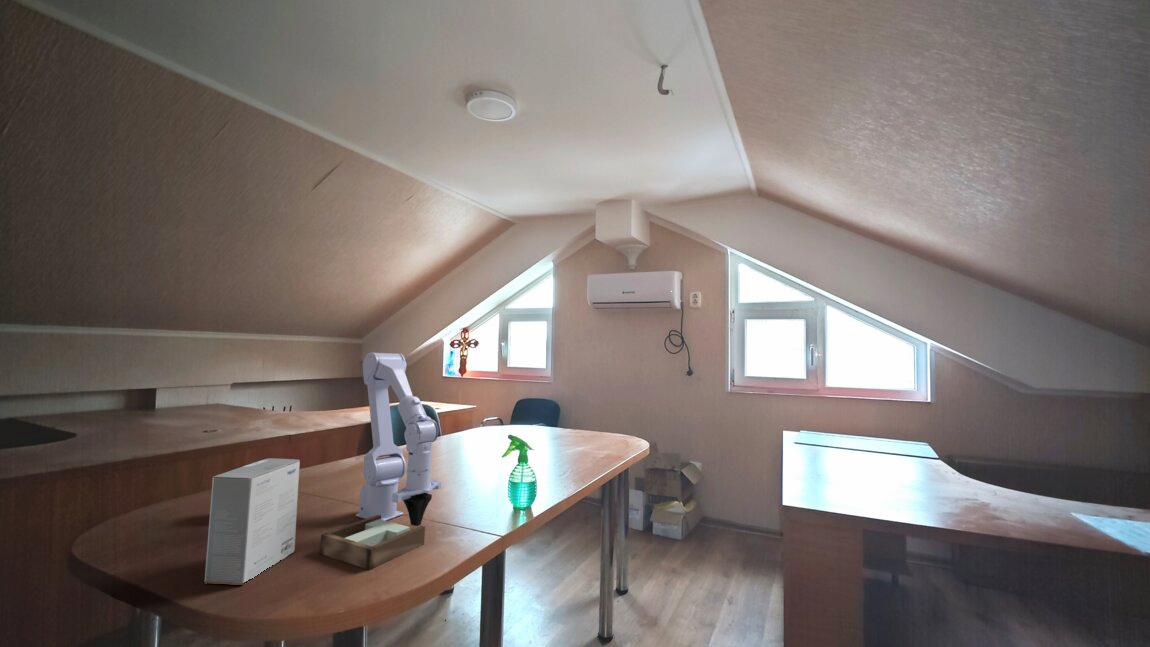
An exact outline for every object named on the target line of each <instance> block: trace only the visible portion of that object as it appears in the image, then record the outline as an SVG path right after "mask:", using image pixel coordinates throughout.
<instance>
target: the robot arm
mask: <svg viewBox="0 0 1150 647" xmlns="http://www.w3.org/2000/svg"><path fill="white" fill-rule="evenodd" d="M407 365H408V364H407V362H406V359H405V356H404V354H403V353H399V352H397V353H390V352H388V353H386V352H374V351H372V352H368V353H367V354H366V356H364V359H363V361H362V376H363V383H364V385H365V386H366V387H367V394H368V404H369V406H368V408H369V416H370V427H371V435H372V437H371V438H372V445H373V446H372V448H371V449H370V450H369V451H368V452H367V453H366V454H364V457H363V467H362V476H363V479H364V481H365V482H364V484H362V486H361V489H360V492H359V500H358V502H359V504H358V513H356V514H355V517H357V518H361V519H363V520H364V519H366V518H369V517H372V516H375V515H381V520H385V521H389V520H392V519H395V518H398V517H399V516H403V515H404V511H399V510H397V509H398V508H397V506H398V503H402V501H403V503H404V505H405V507H406V509H407V513H408V518H409V522H410V525H411V526H414V527H419V526H422V525H421V524H422V521H423V519H424V515H425V511H426V509H427V507H428V505H429V504H430V502H431V500H432V497H433V495H432V494H430V493H431V492H433V491H434V490H440V489H441V487H442V481H440V480H436V479H435V480H432V481H431V476H432V474H431V473H432V461H433V460H432V459H433V443H435V442H436V440H437V439H438V437H439V426H438V424H437V422H436V420H434V419H432V418H431V417H430V416H428V415H427V413H426V410H425V408H424V406H423V405H422V402H421V399H420V397H417V396H414V395H413V392H412V390H411V386H410V384H409V381H408V377H407V375H406V370H407ZM390 386H391V388H392V390H393V391H394V393H395V395H396V397H397V399H398V401H399V403H398V404H397V410H398V412H399V415H400V417H401V419H402V421H403V423H404V426H405V431H404V440H405V443H406V447H405V448H406V451H407V453H408V455H407V462H406V459H405V457H404V454H403V449H402V448H400V447H399V446H397V445H396V444H395V443H394V434H393V425H392V424H393V423H392V416H391V407H390V397H389V387H390ZM405 474H406V483H405V486H404V487H403V488H401V489H400V490H398V489H399V483H400V482H401V481H402V478H403V477H404V476H405Z"/></svg>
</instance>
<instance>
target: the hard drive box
mask: <svg viewBox="0 0 1150 647" xmlns="http://www.w3.org/2000/svg"><path fill="white" fill-rule="evenodd" d="M300 462H301V461H300V459H293V458H273V457H271V458H265V459H261V460H258V461H255V462H252V463H249V464H246V465H244V466H241V467H238V468H237V467H236V468H234V469H232V470H229V471H226V472H222V473H220V474H217V475H215V476H212V481H211V482H212V483H211V495H210V509H209V519H208V520H209V521H208V535H207V544H206V545H207V547H206V555H205V556H206V557H205V558H206V559H205V573H204V582H205V581H211V582H222V583H225V582H233V583H244V582H246V581H248V580H249V579H252V578H253V579H255V578H256V577H255V576H257V575H258V574H259V575H260V573H261V572H262V573H264V572H265V571H267V570H268V569H270V568H271V567H273V566H275V565H276V564H277V563H279V562H281V561H282V560H284V559H286V558H287V557H288V556H289V555H292V554H293V553H294V552H295V547H296V534H297V533H296V530H297V515H298V514H297V513H298V497H299V480H300V479H299V478H300V464H301V463H300ZM280 560H281V561H280ZM272 565H273V566H272ZM269 567H270V568H269ZM267 568H268V569H267ZM266 569H267V570H266ZM264 570H265V571H264ZM263 571H264V572H263ZM262 573H261V574H262ZM259 575H258V576H259ZM258 576H257V577H258ZM254 577H255V578H254ZM253 579H252V580H253ZM248 582H249V581H248Z"/></svg>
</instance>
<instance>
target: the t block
mask: <svg viewBox="0 0 1150 647" xmlns="http://www.w3.org/2000/svg"><path fill="white" fill-rule="evenodd" d="M409 530H411V526H407V525H403V524H400V523H396V522H391V521H389V520H386V521H385V520H381V519H378V520H376V521H373V522H370V523H367V524H365V530H364V531H362V532H359V533H356V534H354V535H351V536H349V537H346V538H345V539H349V540H352V541H355V542H359V543H362V544H365V545H369V546H374V545H376V544H379V543H381V542H383V541H386V540H388V539H390V538H393V537H395V536H398V535H400V534H402V533H405V532H407V531H409Z"/></svg>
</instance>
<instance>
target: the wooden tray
mask: <svg viewBox="0 0 1150 647" xmlns="http://www.w3.org/2000/svg"><path fill="white" fill-rule="evenodd" d="M378 519H381V515H375V516H372V517H369V518H366V519H364V518H363V519H362V520H358V521H356V522H353V523H350V524H348V525H344V526H342V527H338V528H336V529H335V528H334V529H333V530H331V531H327V532H324V533H322V534H320V541H319V554H320V555H324V556H325V557H329V558H332V559H336V560H338V561H340V562H341V561H342V562H345V563H348V564H350V565H353V566H357V567H359V568H362V569H365V570H369V571H371V570H373V569H375V568H377V567H379V566H382V565H383V564H385V563H388V562H390V561H392V560H394V559H396V558H398V557H400V556H402V555H404V554H407V553H408V552H411V551H413V550H415V549H417V548H419V547H422V546H423V545H425V534H426V526H425V525H419V526H416V527H415V528H412V529H410V530H409V531H407V532H405V533H402V534H400V535H398V536H395V537H393V538H390V539H388V540H386V541H383V542H381V543H379V544H376V545H374V546H369V545H365V544H362V543H359V542H355V541H352V540H349V539H345V538H346V537H349V536H351V535H354V534H356V533H359V532H362V531H364V530H365V524H367V523H370V522H373V521H376V520H378Z"/></svg>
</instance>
